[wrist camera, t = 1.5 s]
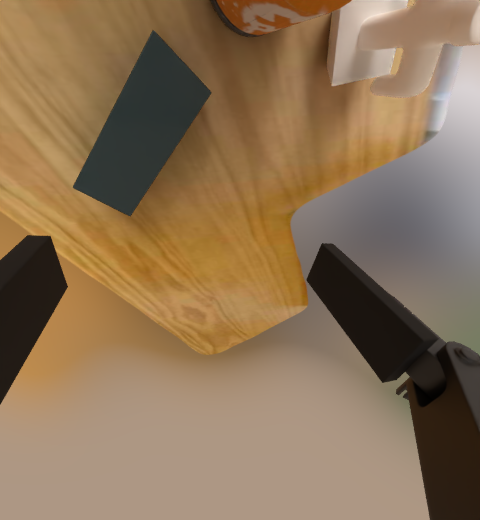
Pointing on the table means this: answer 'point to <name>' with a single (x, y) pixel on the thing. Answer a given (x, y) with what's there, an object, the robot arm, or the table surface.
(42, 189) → the table surface
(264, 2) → the canister
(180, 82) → the pencil box
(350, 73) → the figurine
